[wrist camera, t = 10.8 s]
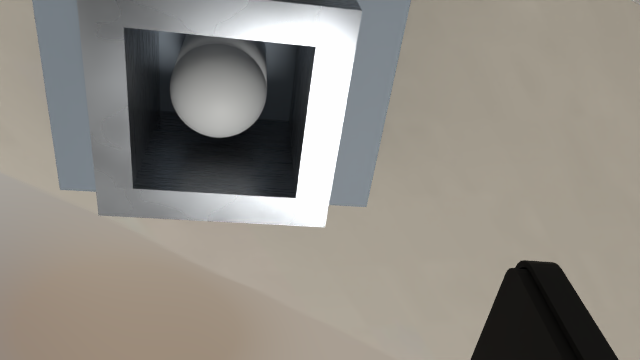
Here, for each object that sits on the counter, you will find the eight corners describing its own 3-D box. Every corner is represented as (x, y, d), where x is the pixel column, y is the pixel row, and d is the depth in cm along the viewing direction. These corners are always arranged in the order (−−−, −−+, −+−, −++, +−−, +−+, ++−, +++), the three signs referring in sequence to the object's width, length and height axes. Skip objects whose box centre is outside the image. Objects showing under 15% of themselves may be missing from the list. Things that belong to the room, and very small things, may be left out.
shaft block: (413, -128, 19) (487, -104, 13) (356, 168, 25) (386, 281, 19) (42, -183, 17) (-82, -186, 11) (81, 150, 24) (17, 267, 17)
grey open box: (338, -34, 17) (362, 11, 13) (312, 146, 21) (324, 227, 17) (122, -61, 16) (74, -21, 12) (133, 133, 20) (98, 215, 16)
